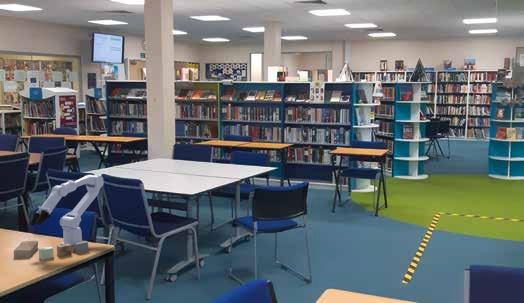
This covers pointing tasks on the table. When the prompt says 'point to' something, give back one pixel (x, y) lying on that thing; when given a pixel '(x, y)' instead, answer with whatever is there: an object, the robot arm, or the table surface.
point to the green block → (46, 253)
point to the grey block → (81, 246)
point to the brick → (25, 249)
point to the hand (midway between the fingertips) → (34, 224)
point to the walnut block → (63, 249)
